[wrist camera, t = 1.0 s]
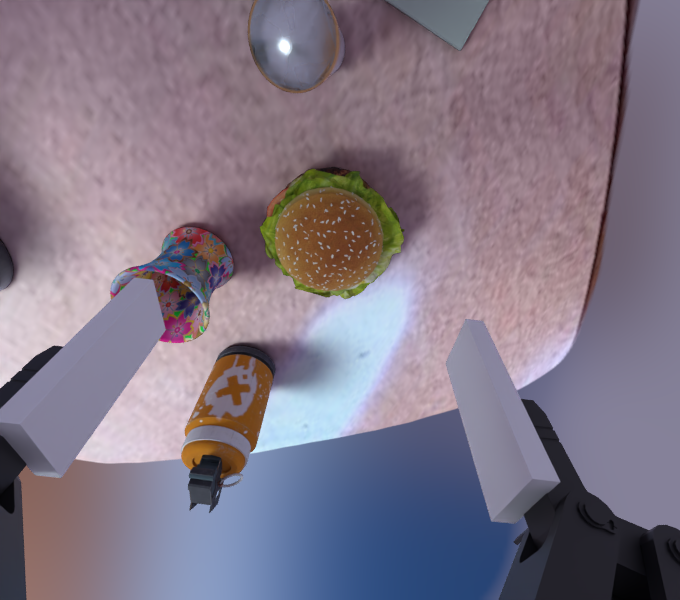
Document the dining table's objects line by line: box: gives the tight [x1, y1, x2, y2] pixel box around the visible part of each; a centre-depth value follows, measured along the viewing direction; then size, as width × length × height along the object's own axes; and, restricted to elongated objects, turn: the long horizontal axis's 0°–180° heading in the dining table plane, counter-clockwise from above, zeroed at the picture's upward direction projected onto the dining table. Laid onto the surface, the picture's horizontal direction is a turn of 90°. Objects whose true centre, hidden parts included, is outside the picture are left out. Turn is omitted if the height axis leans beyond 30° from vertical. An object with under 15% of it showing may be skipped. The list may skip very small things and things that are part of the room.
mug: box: [110, 227, 234, 343], centre depth 37 cm, size 12×9×11 cm
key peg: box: [248, 0, 345, 93], centre depth 22 cm, size 4×4×16 cm
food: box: [260, 167, 404, 299], centre depth 35 cm, size 14×14×8 cm
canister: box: [181, 346, 275, 513], centre depth 44 cm, size 9×11×20 cm
